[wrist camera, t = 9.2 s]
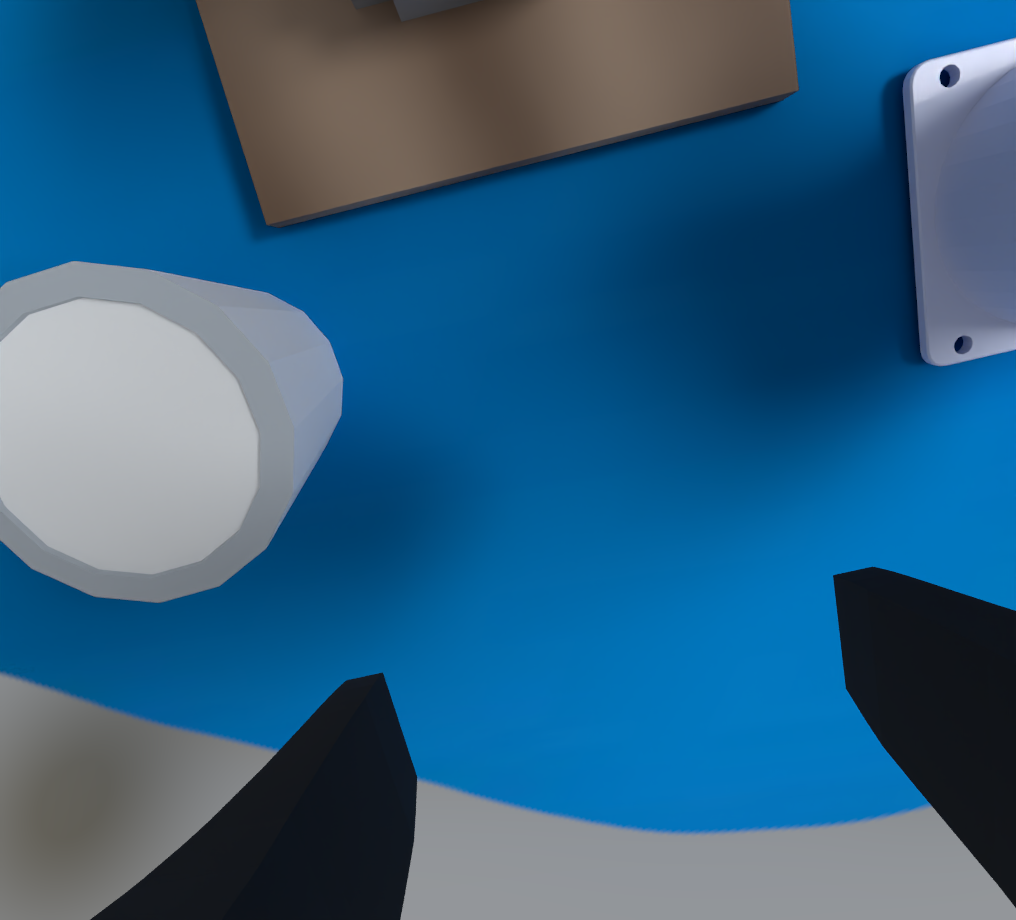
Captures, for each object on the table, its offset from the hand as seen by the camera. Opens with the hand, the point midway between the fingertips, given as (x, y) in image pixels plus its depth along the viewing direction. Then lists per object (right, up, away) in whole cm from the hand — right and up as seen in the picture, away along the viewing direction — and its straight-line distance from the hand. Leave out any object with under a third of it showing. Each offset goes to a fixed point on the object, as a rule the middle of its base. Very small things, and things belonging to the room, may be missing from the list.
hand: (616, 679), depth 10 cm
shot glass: (-9, +6, +9) cm, 14 cm away
